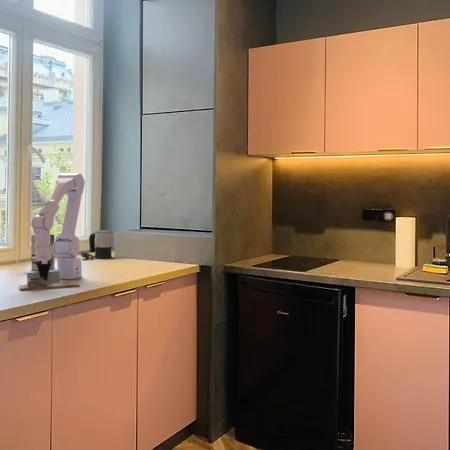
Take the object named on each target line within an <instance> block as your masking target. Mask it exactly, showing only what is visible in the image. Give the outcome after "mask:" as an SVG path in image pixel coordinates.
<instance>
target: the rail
mask: <svg viewBox="0 0 450 450" xmlns="http://www.w3.org/2000/svg"><path fill="white" fill-rule="evenodd" d="M28 278H40V273H39V271H38V270H31V271H26V285H28ZM45 283H61V279H60V271H59V270H57V269H49V272H48V278H47V281H45Z"/></svg>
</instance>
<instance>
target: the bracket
mask: <svg viewBox="0 0 450 450" xmlns="http://www.w3.org/2000/svg"><path fill="white" fill-rule="evenodd" d="M65 288H80V283H79V282H78V281H77V280H76V281H62V282H61V281H60V283H45V280H43V278H28V285H27V284H19V290H20V291H21V292H23V291H35V290H36V291H37V290H51V289H65Z"/></svg>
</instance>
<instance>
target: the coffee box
mask: <svg viewBox="0 0 450 450" xmlns="http://www.w3.org/2000/svg"><path fill="white" fill-rule="evenodd" d="M30 240H31V241H30V243H31V245H30V246H31V247H30V248H31V251H30V253H31V254H30V255H31V256H30V257H31V271H38V267H37V265H36V263H35V262H37V261H40V260H36V259H32V257H35V234H34V235H30ZM54 242H55V234H51V233H50V247H51V259H49V260H50V263H51V266H50V268H49V270H54V269H55V261H56V260H55V254H54V253H53V249H52V247H53V244H54Z"/></svg>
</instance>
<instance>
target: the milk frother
mask: <svg viewBox="0 0 450 450" xmlns="http://www.w3.org/2000/svg"><path fill="white" fill-rule="evenodd" d="M112 232H113V231H112V230H105V229H103V230H101V229H100V230H99V229H98V230H94V232H92V233H91V234H90V235H89V236H88V240H89V252H81V253H80V256H81V257H82V258H84V259H85V260H86V261H87V260H93V259H100V260H101V259H103V260H106V259H112V257H113V256H112ZM90 253H94V255H93V254H90Z"/></svg>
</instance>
